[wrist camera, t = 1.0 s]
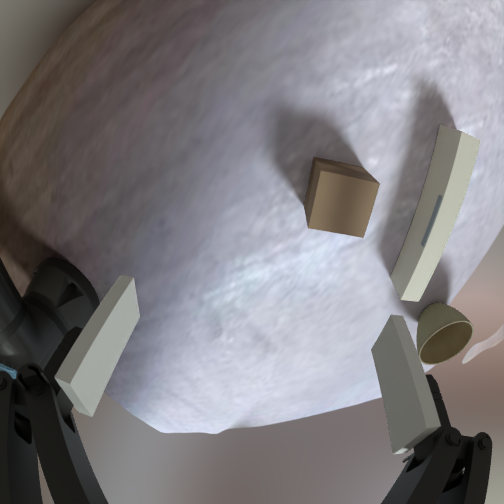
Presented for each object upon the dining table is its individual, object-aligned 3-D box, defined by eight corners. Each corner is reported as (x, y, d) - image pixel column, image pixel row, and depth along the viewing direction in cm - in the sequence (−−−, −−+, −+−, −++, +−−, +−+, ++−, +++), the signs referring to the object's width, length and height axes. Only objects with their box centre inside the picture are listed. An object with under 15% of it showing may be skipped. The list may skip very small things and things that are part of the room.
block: (303, 205, 34) (308, 228, 29) (313, 156, 31) (320, 170, 25) (351, 214, 34) (363, 237, 29) (363, 167, 30) (379, 183, 25)
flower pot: (395, 329, 43) (406, 362, 37) (428, 284, 38) (446, 315, 32) (434, 338, 44) (446, 367, 37) (466, 297, 38) (484, 326, 32)
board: (389, 277, 38) (399, 299, 33) (438, 123, 26) (460, 130, 22) (407, 279, 38) (418, 301, 33) (457, 132, 26) (480, 140, 22)
